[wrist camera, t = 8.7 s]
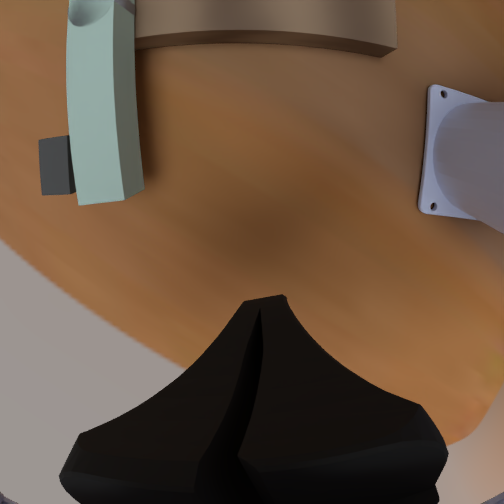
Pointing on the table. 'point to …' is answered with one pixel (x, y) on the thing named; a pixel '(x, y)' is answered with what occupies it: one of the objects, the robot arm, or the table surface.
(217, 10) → the stool seat
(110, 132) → the folding leg
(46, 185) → the block
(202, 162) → the table surface
